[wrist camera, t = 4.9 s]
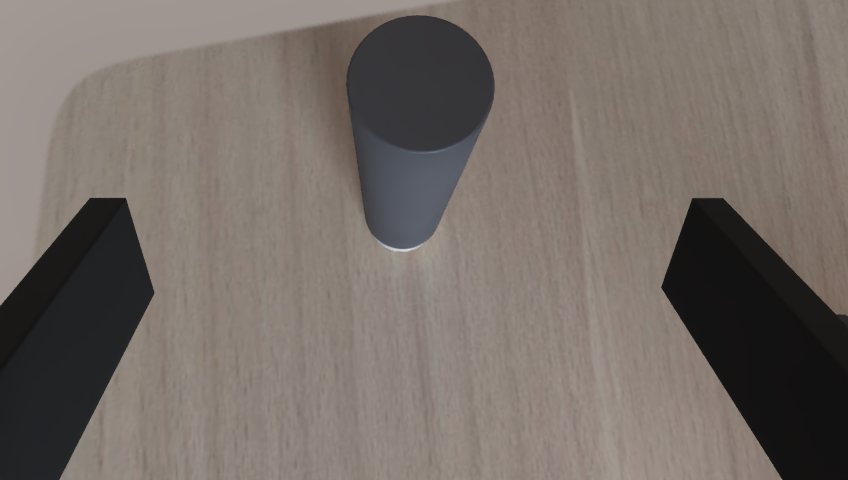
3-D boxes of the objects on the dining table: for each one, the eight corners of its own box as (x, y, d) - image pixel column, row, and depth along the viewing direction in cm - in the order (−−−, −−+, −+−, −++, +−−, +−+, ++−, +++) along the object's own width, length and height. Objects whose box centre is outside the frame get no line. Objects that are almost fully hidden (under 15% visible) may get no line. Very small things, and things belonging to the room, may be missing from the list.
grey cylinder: (353, 234, 22) (318, 110, 10) (386, 173, 23) (389, -11, 11) (417, 266, 22) (455, 179, 10) (449, 204, 23) (519, 55, 11)
